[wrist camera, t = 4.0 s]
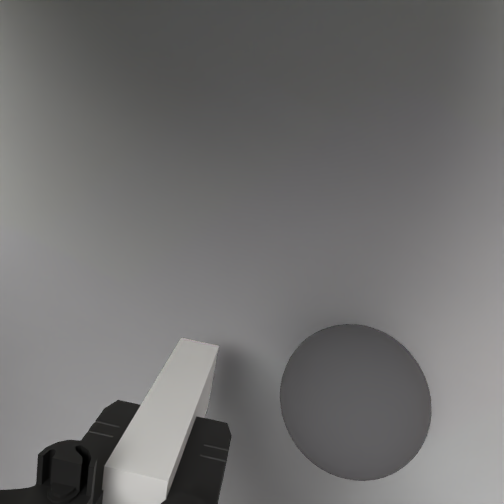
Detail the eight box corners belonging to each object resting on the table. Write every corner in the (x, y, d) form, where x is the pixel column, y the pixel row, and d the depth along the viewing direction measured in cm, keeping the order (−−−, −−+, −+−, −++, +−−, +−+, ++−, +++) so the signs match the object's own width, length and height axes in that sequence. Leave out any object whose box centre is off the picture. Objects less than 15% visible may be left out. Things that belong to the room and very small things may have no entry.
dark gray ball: (258, 332, 18) (251, 411, 13) (376, 283, 17) (421, 345, 12) (310, 430, 19) (322, 539, 14) (422, 388, 18) (483, 488, 13)
